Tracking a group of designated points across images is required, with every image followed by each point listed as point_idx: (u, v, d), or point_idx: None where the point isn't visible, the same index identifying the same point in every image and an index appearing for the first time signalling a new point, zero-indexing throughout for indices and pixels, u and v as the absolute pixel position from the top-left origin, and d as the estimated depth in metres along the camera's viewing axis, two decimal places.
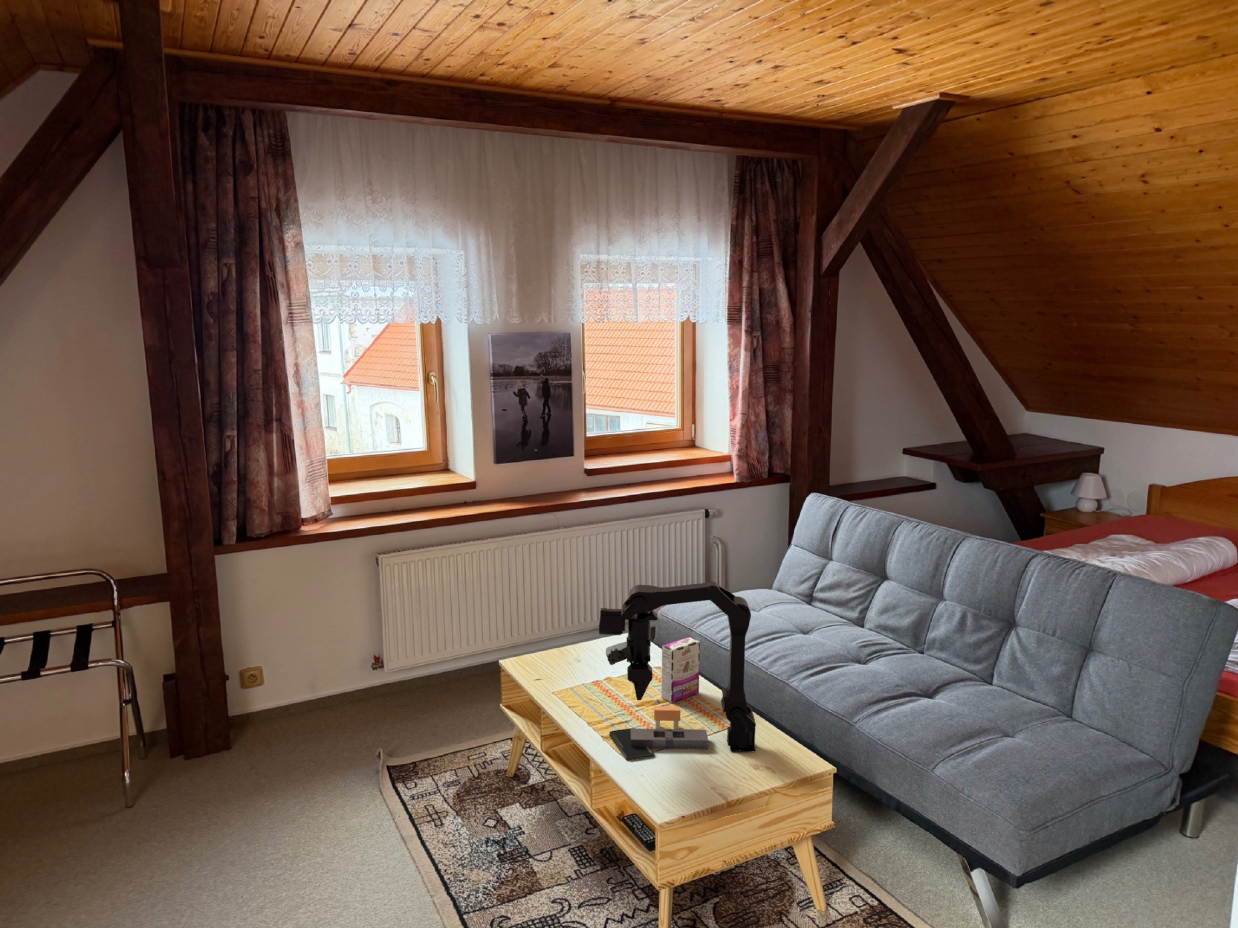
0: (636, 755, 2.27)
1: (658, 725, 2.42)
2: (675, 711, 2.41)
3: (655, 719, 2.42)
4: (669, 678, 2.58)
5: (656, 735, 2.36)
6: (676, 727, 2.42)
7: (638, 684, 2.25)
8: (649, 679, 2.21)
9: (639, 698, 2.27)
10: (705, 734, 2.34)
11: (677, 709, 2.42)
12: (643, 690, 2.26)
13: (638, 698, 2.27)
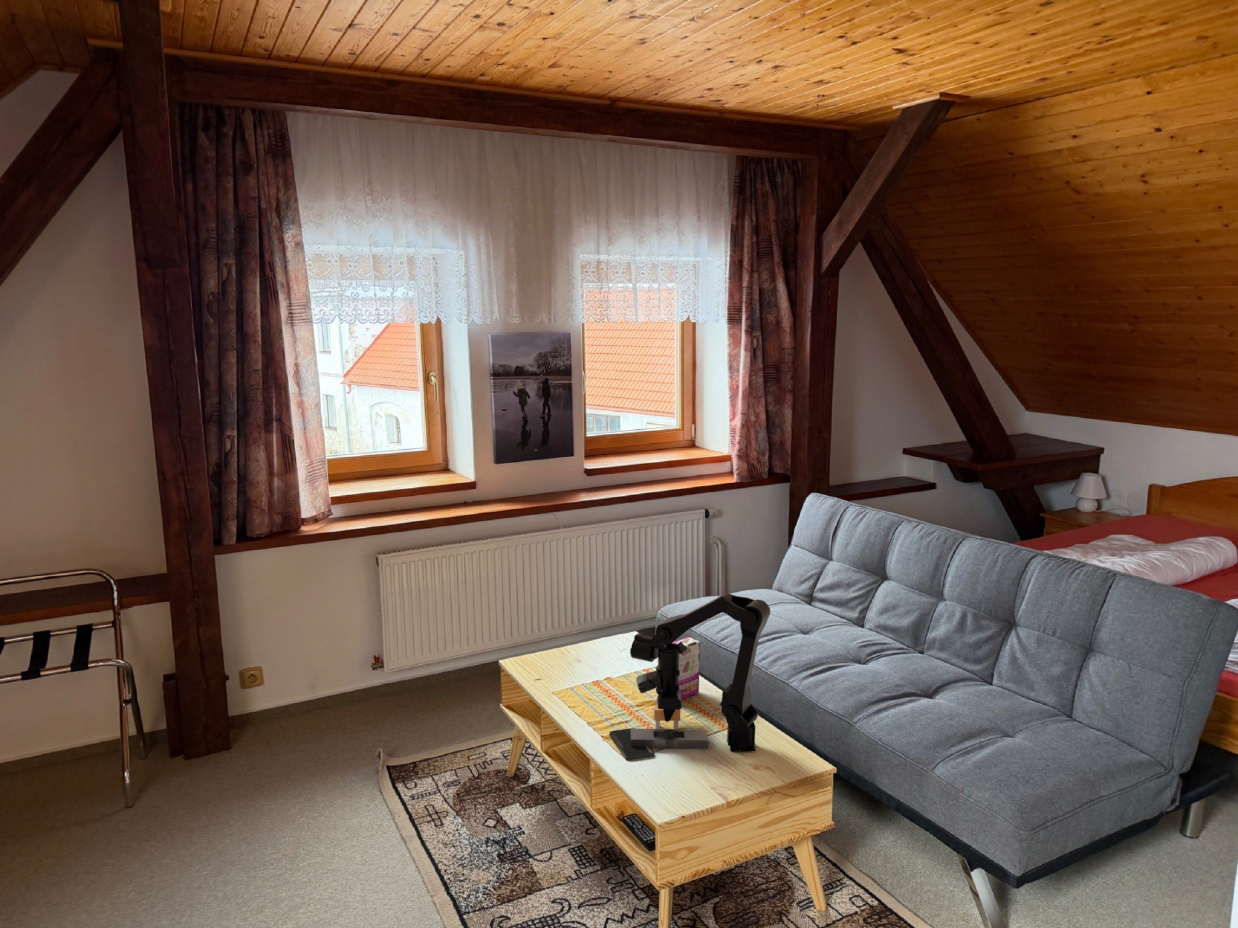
0: (636, 755, 2.27)
1: (658, 725, 2.42)
2: (675, 711, 2.41)
3: (655, 719, 2.42)
4: None
5: (656, 735, 2.36)
6: (676, 727, 2.42)
7: None
8: (678, 708, 2.32)
9: (667, 720, 2.41)
10: (705, 734, 2.34)
11: None
12: (671, 712, 2.40)
13: (666, 720, 2.41)
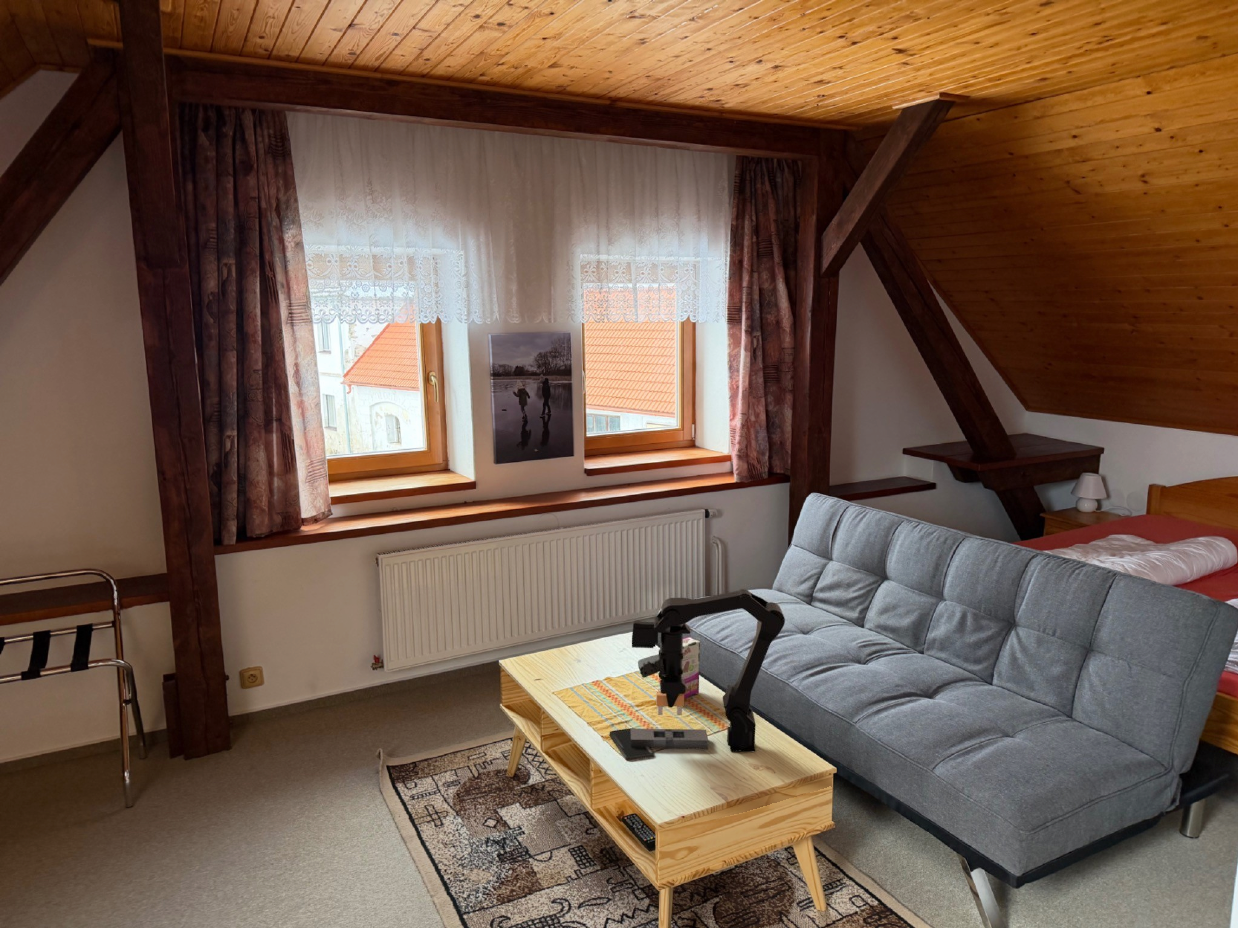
0: (636, 755, 2.27)
1: (661, 711, 2.32)
2: (679, 696, 2.31)
3: (657, 705, 2.31)
4: None
5: (656, 735, 2.36)
6: (679, 713, 2.32)
7: None
8: (682, 692, 2.22)
9: (670, 705, 2.31)
10: (705, 734, 2.34)
11: (681, 694, 2.31)
12: (675, 698, 2.30)
13: (669, 705, 2.31)
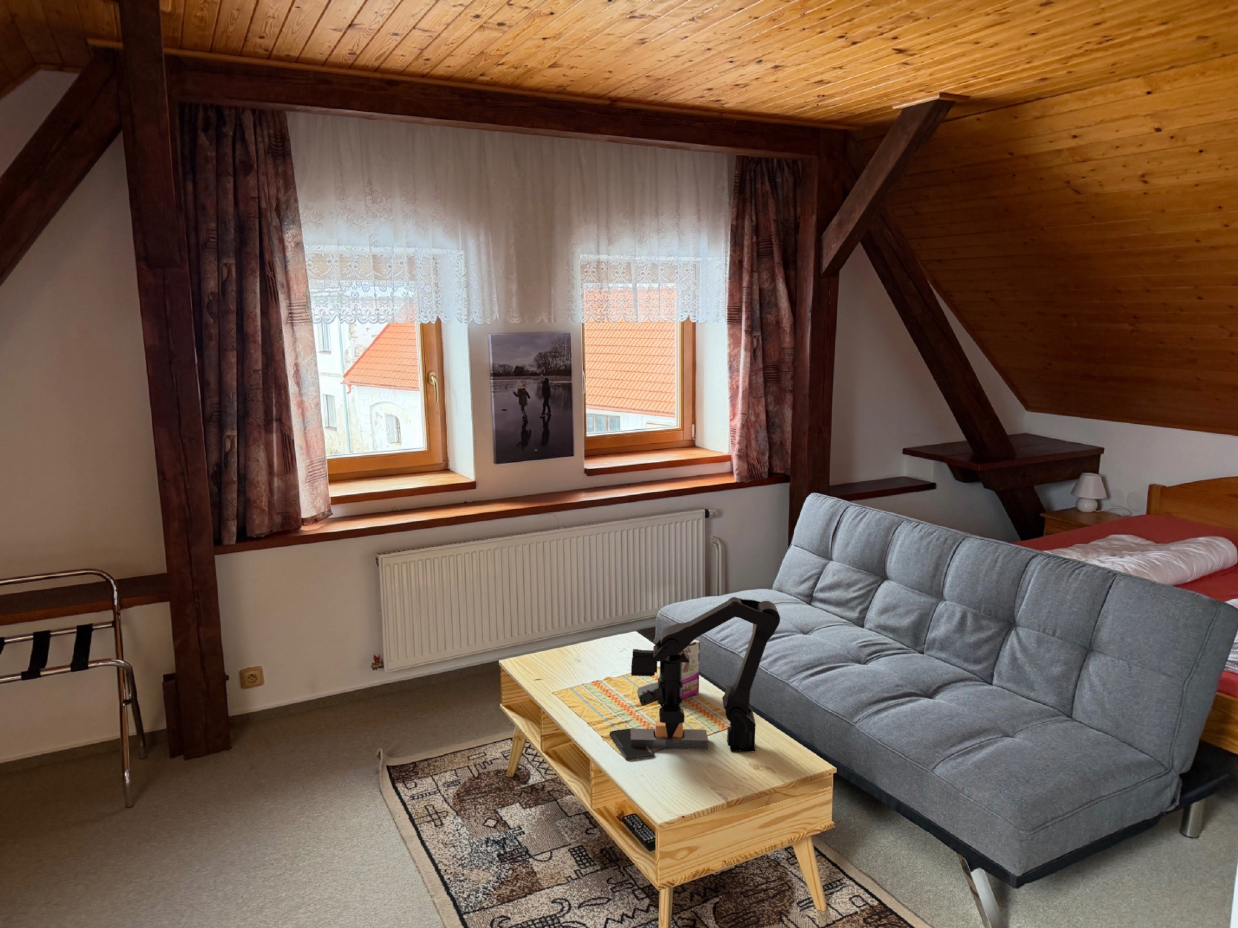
0: (636, 755, 2.27)
1: None
2: (677, 727, 2.32)
3: (656, 735, 2.33)
4: None
5: None
6: None
7: (669, 722, 2.29)
8: (681, 721, 2.23)
9: (670, 736, 2.31)
10: (705, 734, 2.34)
11: (680, 724, 2.33)
12: (674, 728, 2.30)
13: (669, 736, 2.31)
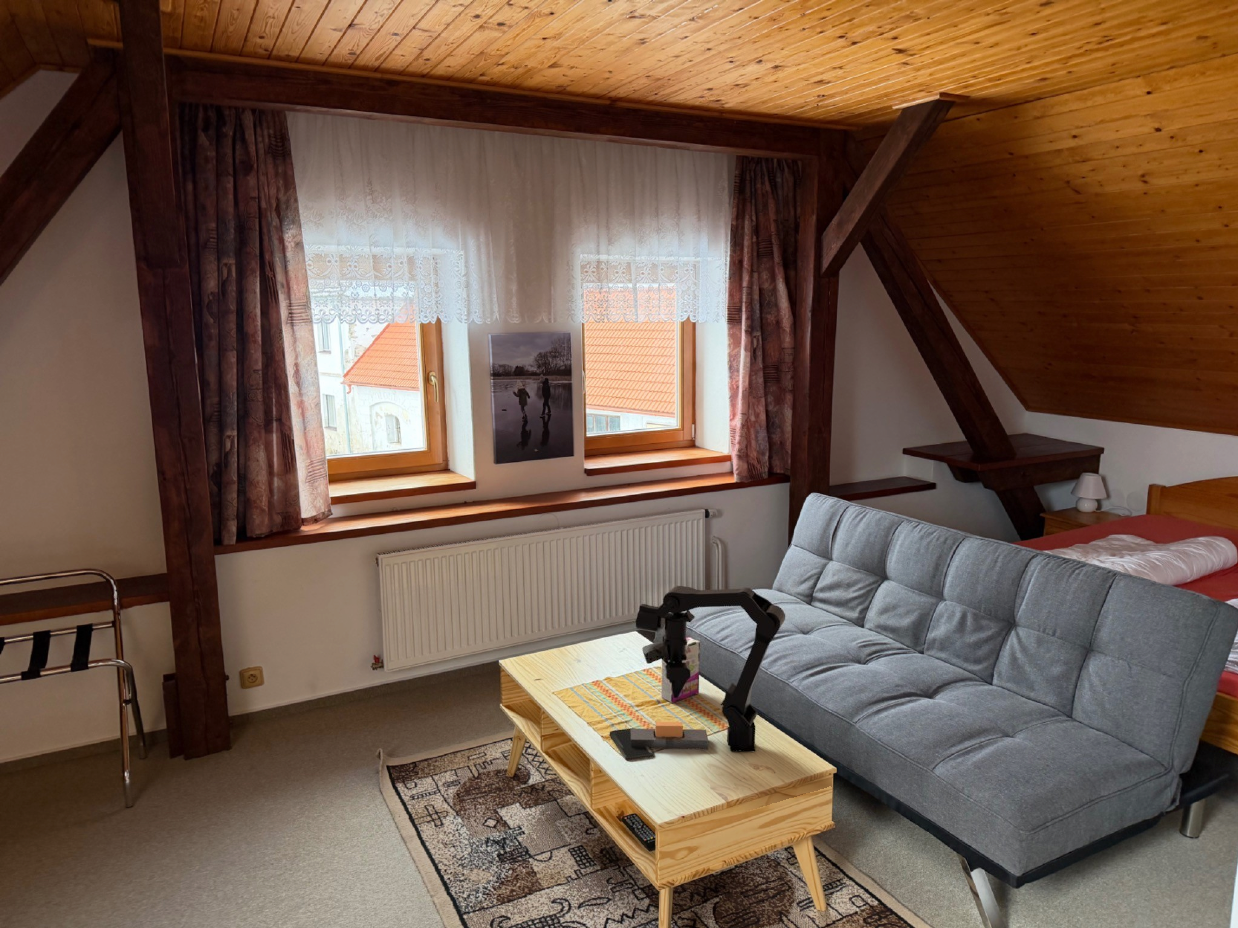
0: (636, 755, 2.27)
1: None
2: (677, 727, 2.32)
3: (656, 735, 2.33)
4: None
5: None
6: None
7: (676, 682, 2.32)
8: (687, 677, 2.28)
9: (676, 696, 2.33)
10: (705, 734, 2.34)
11: (680, 724, 2.33)
12: (680, 688, 2.32)
13: (675, 696, 2.33)
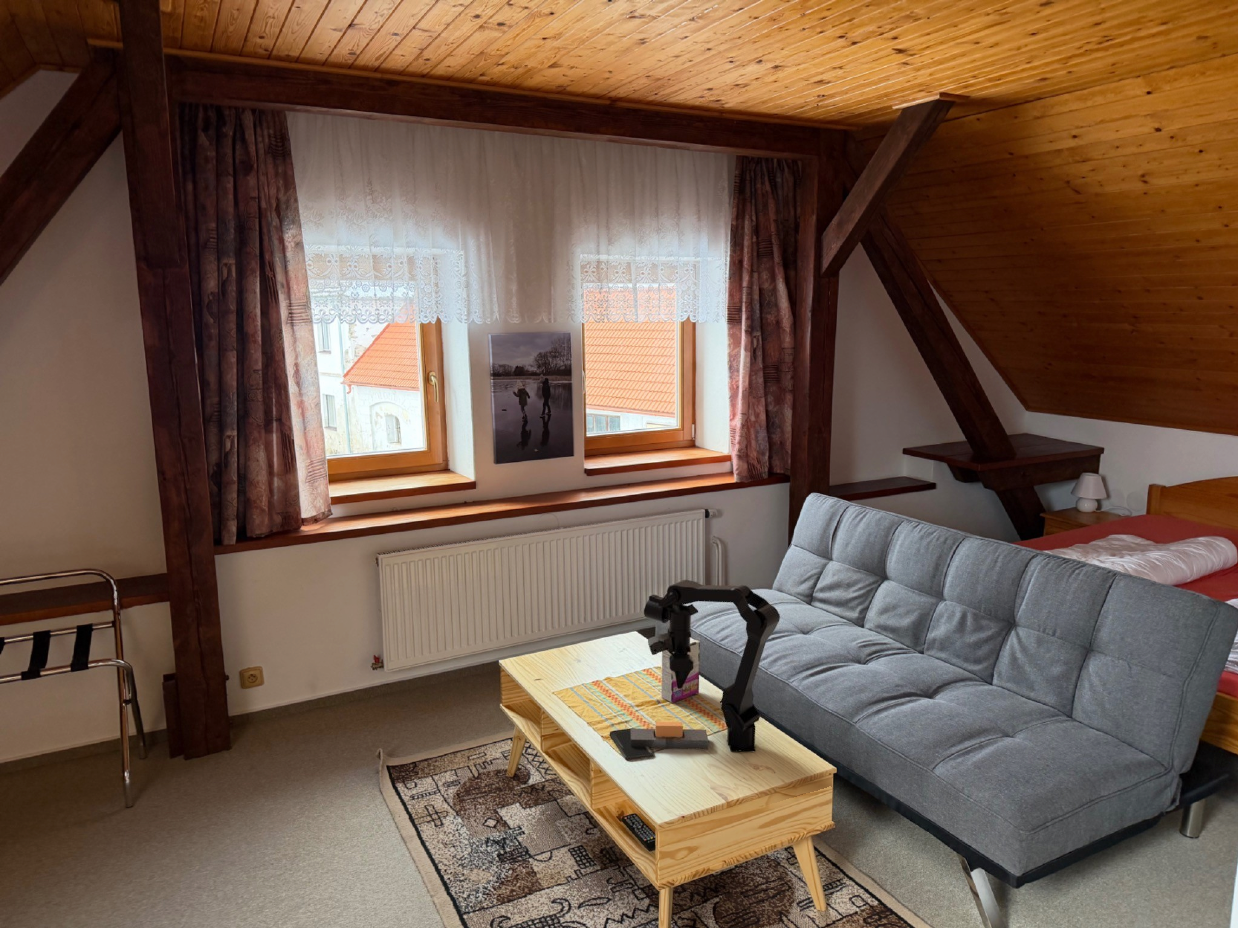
0: (636, 755, 2.27)
1: None
2: (677, 727, 2.32)
3: (656, 735, 2.33)
4: (669, 678, 2.58)
5: None
6: None
7: (679, 673, 2.38)
8: (690, 668, 2.34)
9: (680, 686, 2.39)
10: (705, 734, 2.34)
11: (680, 724, 2.33)
12: (684, 679, 2.38)
13: (679, 686, 2.39)
